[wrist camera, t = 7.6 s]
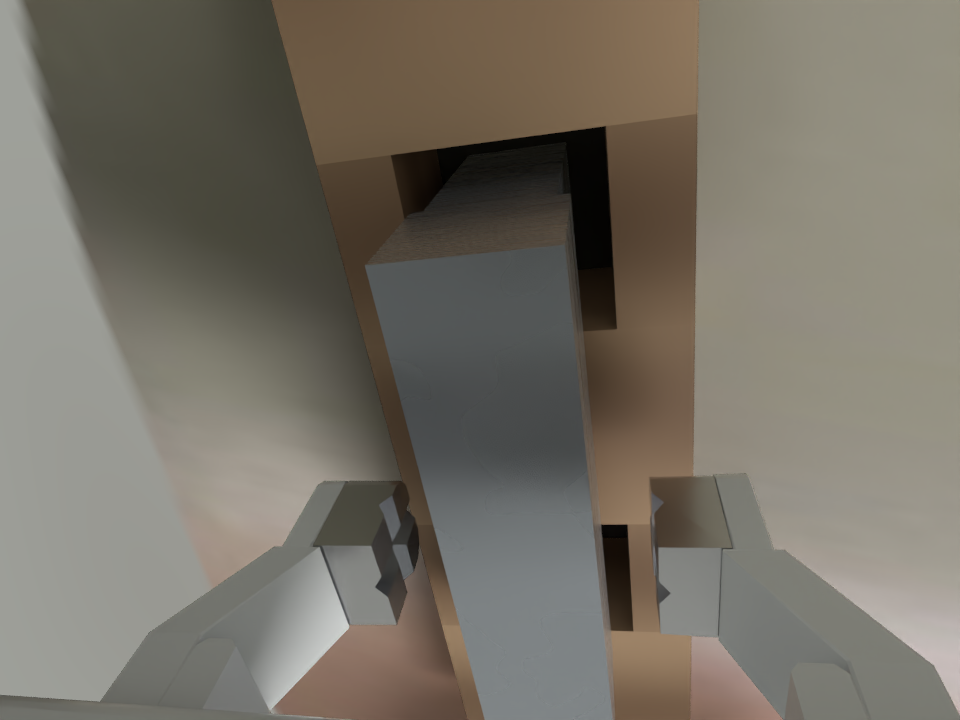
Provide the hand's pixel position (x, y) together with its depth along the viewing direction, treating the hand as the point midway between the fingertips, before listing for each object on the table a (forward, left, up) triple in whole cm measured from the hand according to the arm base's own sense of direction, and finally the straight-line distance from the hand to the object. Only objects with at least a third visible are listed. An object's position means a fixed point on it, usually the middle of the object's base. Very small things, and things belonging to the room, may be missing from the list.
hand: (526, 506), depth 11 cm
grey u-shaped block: (0, 0, -5) cm, 5 cm away
